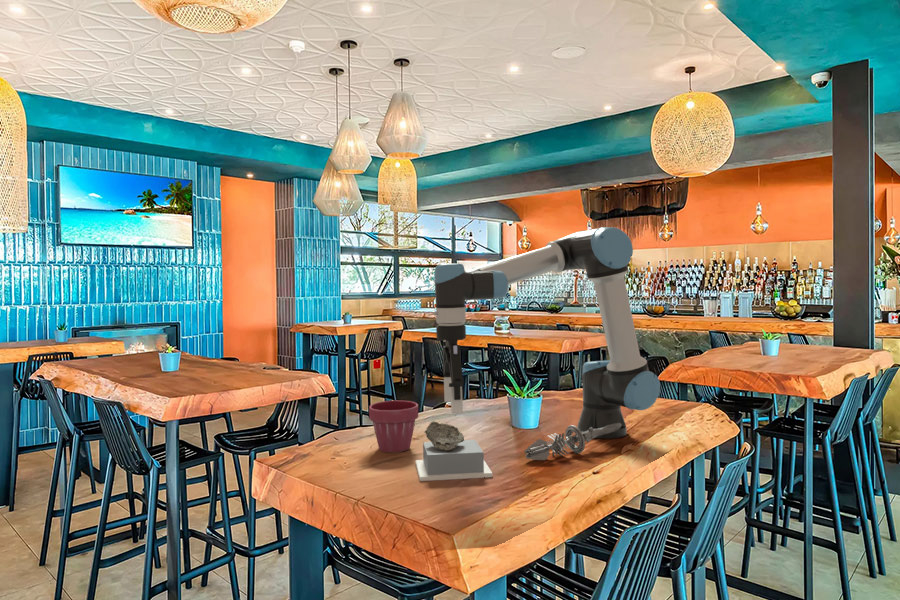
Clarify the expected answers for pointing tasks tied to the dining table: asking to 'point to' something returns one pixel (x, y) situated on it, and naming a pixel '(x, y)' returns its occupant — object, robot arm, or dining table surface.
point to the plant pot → (393, 424)
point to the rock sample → (444, 436)
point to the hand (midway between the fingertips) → (453, 406)
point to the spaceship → (567, 441)
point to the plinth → (452, 462)
